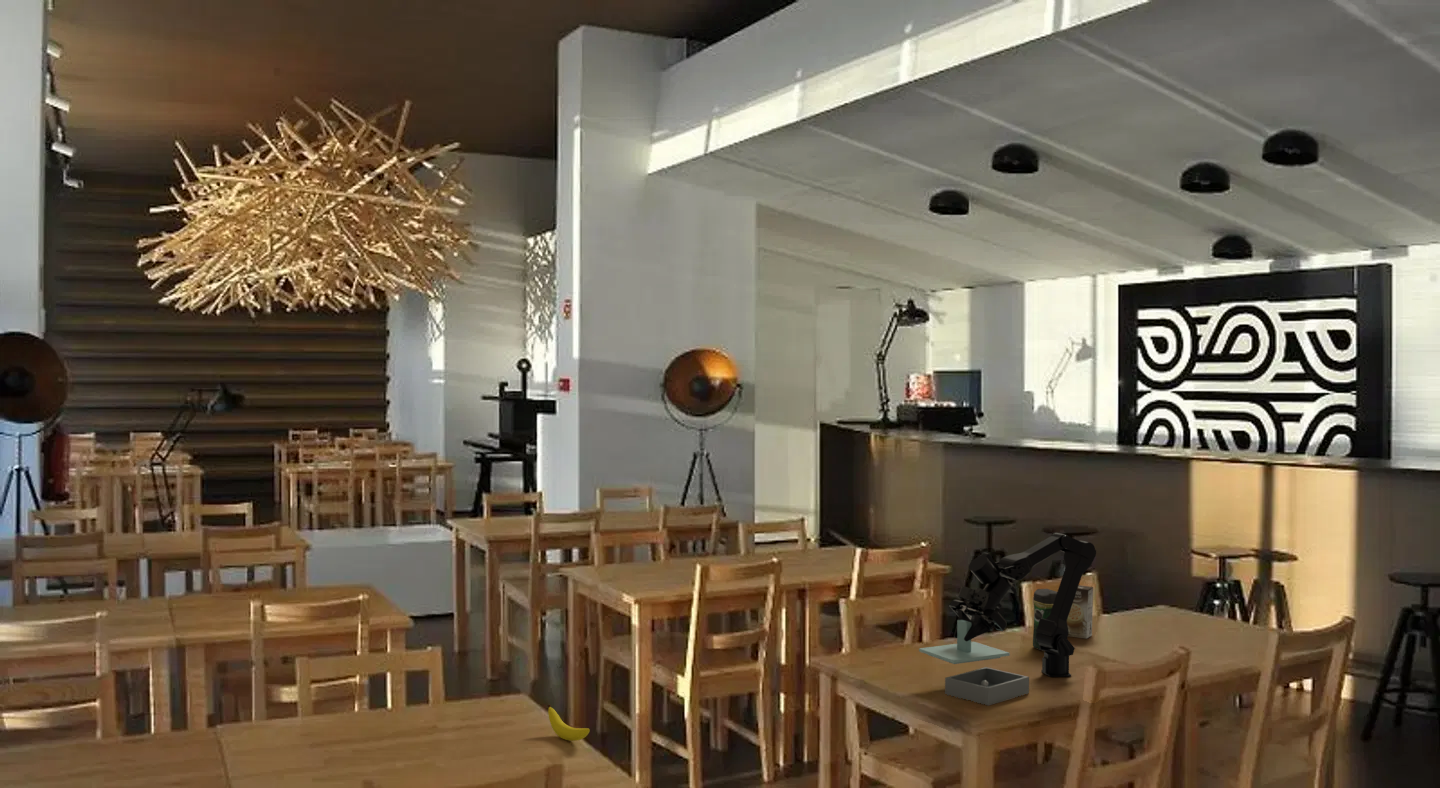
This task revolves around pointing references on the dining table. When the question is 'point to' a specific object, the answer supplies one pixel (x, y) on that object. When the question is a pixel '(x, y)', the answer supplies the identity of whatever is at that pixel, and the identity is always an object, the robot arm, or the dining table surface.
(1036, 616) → the coffee jar
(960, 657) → the lid
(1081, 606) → the coffee box
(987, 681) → the tub
